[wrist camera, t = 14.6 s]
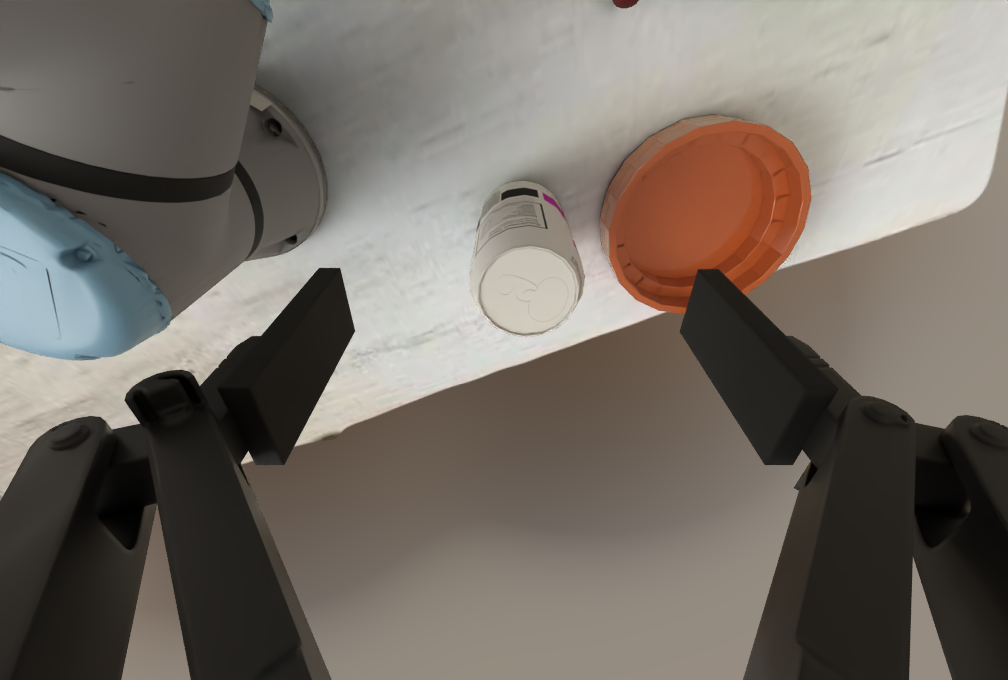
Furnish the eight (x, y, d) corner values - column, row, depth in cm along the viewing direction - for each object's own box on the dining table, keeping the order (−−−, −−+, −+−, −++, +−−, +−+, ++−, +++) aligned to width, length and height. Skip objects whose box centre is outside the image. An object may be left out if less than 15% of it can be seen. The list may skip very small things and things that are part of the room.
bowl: (581, 281, 45) (588, 301, 41) (630, 100, 35) (645, 105, 31) (731, 300, 46) (751, 322, 42) (818, 131, 36) (854, 140, 33)
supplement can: (576, 197, 40) (609, 262, 27) (541, 272, 44) (555, 357, 32) (496, 164, 38) (493, 217, 26) (468, 245, 42) (453, 324, 30)
